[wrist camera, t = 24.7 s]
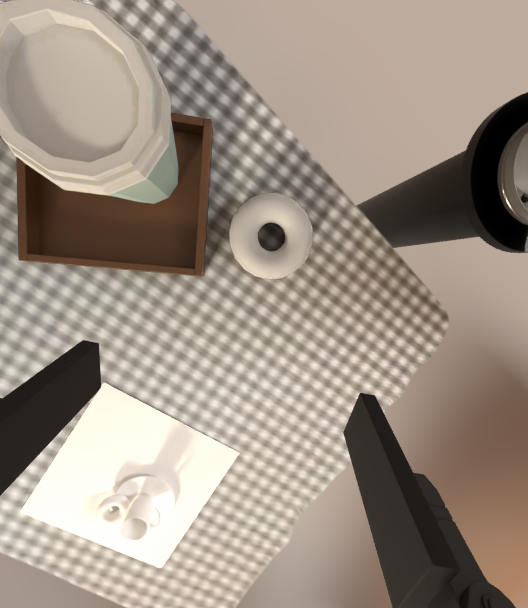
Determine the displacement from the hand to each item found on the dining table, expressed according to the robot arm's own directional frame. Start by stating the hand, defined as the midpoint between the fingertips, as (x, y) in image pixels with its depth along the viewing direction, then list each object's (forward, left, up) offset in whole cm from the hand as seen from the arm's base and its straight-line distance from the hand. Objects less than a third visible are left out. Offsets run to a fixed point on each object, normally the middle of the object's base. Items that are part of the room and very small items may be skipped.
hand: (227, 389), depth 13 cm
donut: (-4, -10, -21) cm, 23 cm away
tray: (+13, -13, -20) cm, 27 cm away
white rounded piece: (+11, +23, -21) cm, 32 cm away
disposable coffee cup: (+10, -15, -20) cm, 27 cm away
